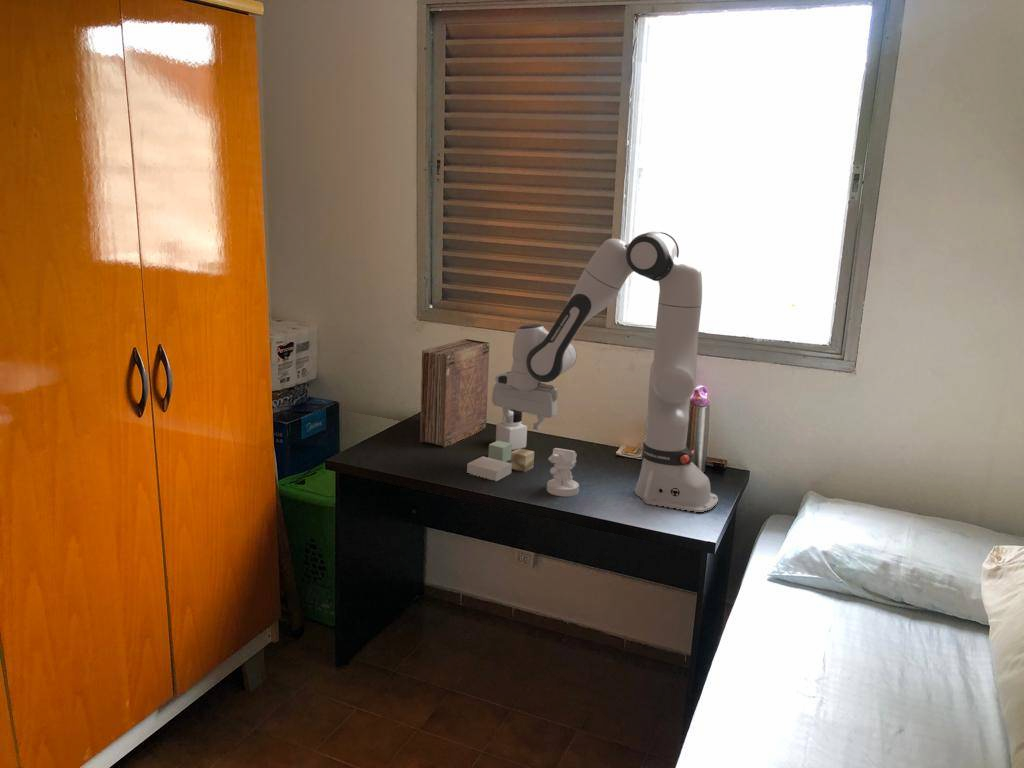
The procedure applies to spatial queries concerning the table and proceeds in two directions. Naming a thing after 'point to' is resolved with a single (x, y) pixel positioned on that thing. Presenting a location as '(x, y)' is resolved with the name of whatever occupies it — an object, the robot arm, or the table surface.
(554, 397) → the robot arm
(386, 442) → the table surface
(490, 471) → the tile slab
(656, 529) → the table surface
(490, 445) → the sage cube
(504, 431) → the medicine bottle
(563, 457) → the character figurine
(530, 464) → the maple cube
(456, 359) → the book
